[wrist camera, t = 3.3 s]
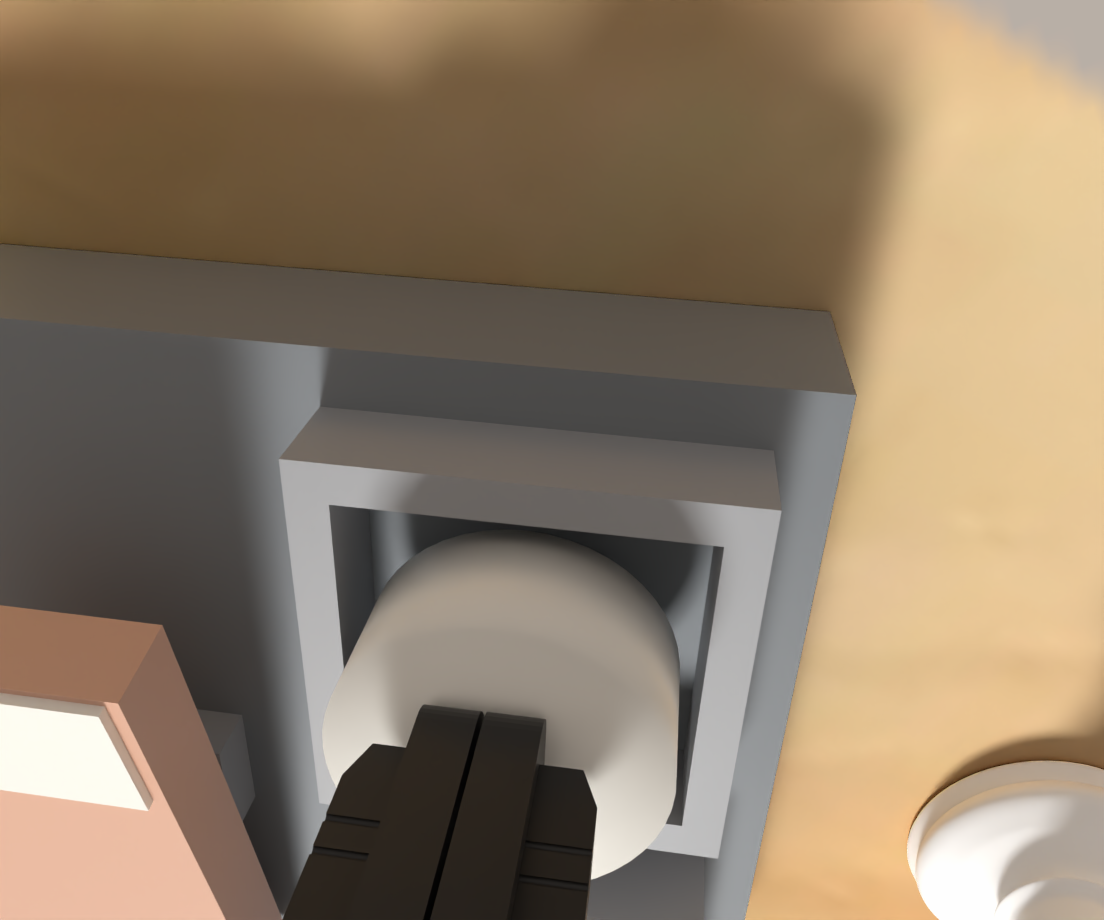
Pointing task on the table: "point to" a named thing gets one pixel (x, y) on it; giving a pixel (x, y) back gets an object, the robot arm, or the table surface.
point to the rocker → (112, 781)
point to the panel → (419, 500)
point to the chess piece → (1014, 844)
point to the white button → (526, 669)
